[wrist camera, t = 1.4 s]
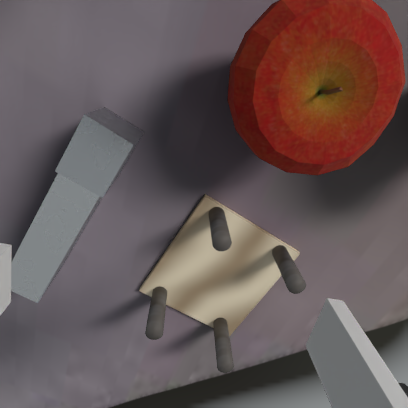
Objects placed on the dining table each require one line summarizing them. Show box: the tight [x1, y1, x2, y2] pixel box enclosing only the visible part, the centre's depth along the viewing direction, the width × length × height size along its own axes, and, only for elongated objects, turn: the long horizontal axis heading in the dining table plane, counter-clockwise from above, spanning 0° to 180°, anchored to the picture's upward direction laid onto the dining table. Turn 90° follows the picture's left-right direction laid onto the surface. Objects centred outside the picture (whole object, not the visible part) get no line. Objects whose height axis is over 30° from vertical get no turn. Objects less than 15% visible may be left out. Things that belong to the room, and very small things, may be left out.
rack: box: [139, 194, 306, 373], centre depth 32 cm, size 12×13×7 cm
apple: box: [228, 0, 405, 175], centre depth 23 cm, size 11×11×12 cm
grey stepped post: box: [11, 107, 144, 303], centre depth 29 cm, size 17×4×6 cm, turn 147°
